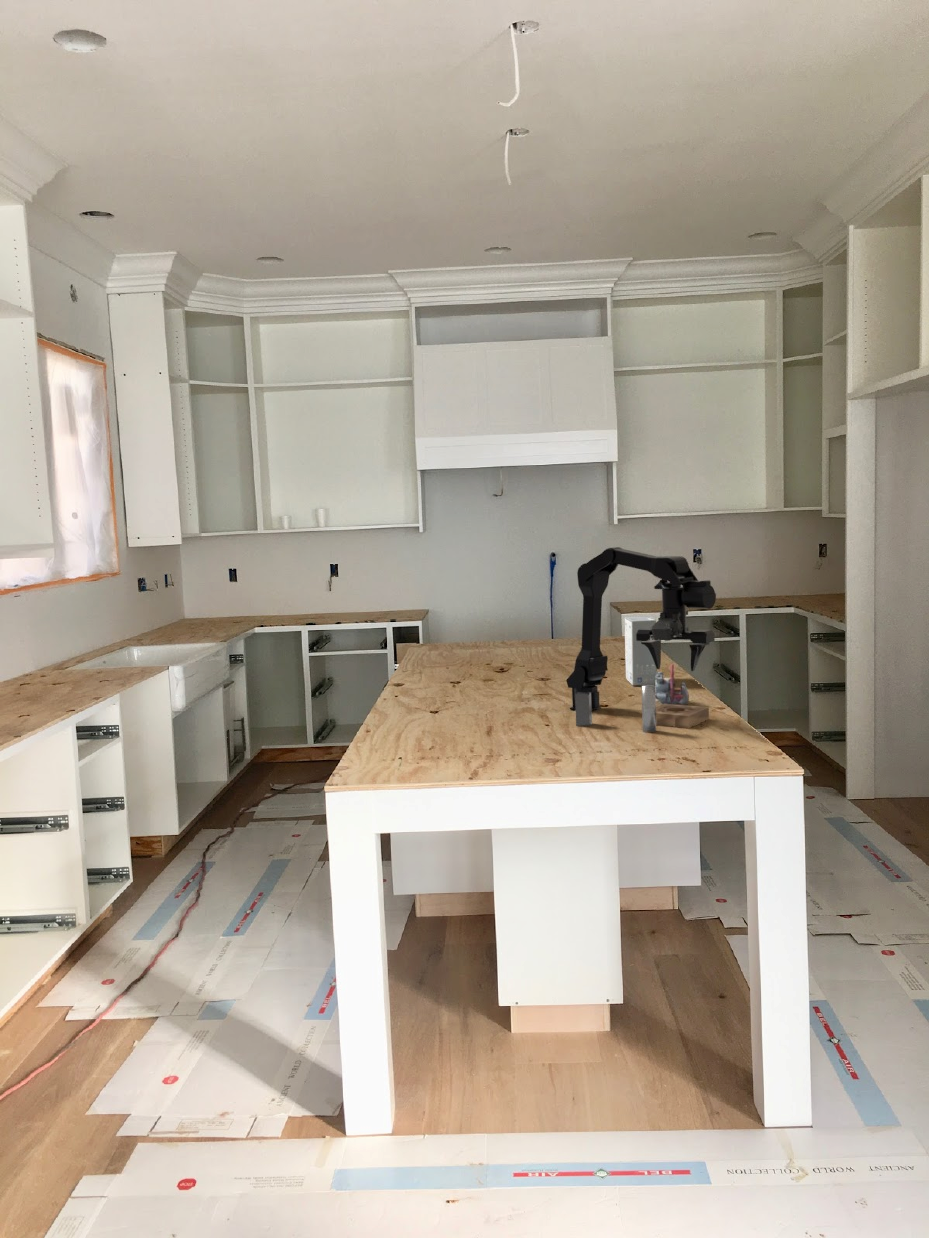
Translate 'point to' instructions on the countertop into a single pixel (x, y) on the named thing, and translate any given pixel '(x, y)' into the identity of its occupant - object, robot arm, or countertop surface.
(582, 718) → the square bit
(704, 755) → the countertop surface
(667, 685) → the brake caliper
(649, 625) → the hard drive box
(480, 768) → the countertop surface
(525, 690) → the countertop surface
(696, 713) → the bore block
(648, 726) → the round bit
